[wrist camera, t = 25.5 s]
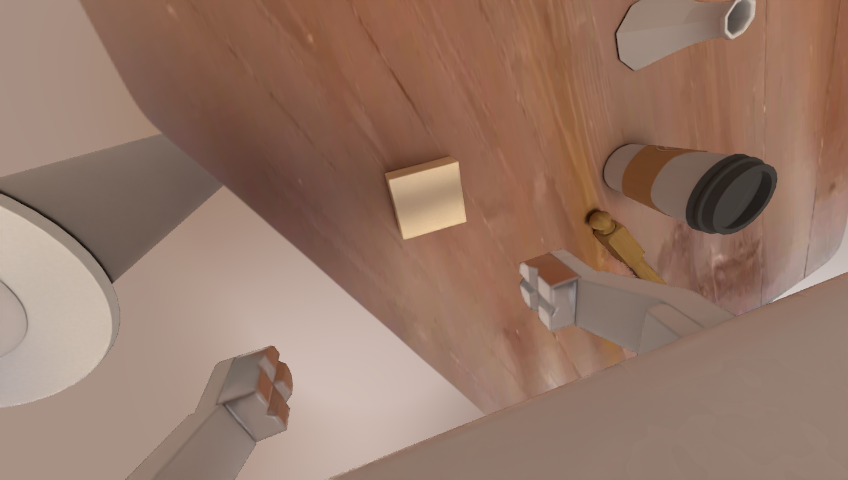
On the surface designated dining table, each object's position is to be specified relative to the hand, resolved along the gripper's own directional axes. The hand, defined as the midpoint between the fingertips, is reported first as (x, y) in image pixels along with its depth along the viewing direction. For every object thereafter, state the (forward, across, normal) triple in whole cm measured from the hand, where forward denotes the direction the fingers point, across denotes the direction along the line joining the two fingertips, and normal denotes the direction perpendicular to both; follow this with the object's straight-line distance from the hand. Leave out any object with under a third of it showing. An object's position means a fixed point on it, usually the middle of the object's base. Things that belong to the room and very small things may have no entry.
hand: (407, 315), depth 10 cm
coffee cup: (+27, -35, +11) cm, 46 cm away
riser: (+27, -6, +7) cm, 29 cm away
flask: (+27, -36, -5) cm, 45 cm away
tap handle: (+27, -39, +28) cm, 55 cm away
